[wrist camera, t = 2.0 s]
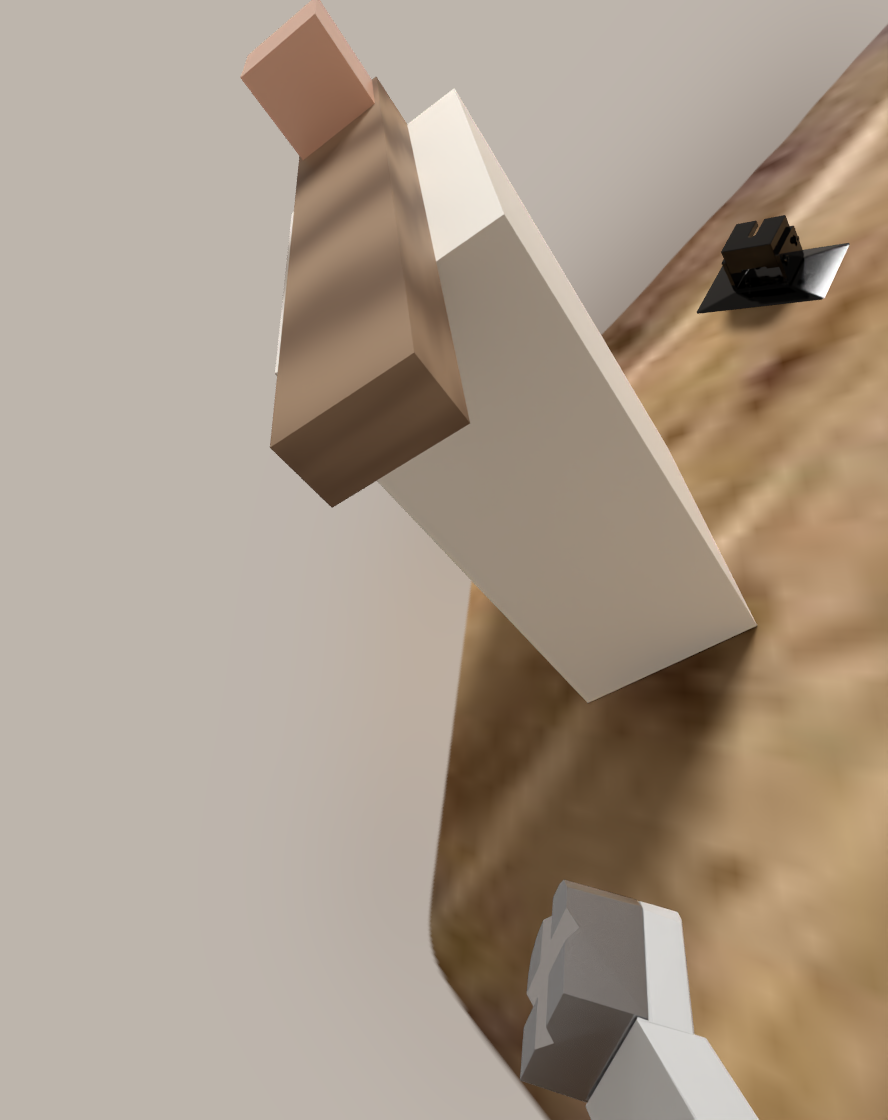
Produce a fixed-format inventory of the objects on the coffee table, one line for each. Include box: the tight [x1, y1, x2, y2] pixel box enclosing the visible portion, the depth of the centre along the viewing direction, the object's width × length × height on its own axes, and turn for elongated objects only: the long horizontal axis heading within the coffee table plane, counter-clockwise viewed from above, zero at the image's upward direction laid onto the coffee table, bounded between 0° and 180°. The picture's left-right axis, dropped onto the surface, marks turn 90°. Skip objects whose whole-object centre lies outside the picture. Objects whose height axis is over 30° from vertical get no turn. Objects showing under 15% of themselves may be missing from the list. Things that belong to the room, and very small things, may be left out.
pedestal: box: [275, 89, 757, 703], centre depth 43 cm, size 16×10×26 cm, turn 8°
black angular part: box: [697, 215, 849, 314], centre depth 58 cm, size 12×7×5 cm, turn 54°
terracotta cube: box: [241, 0, 375, 160], centre depth 37 cm, size 4×4×4 cm
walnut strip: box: [270, 77, 470, 507], centre depth 31 cm, size 26×4×2 cm, turn 8°
